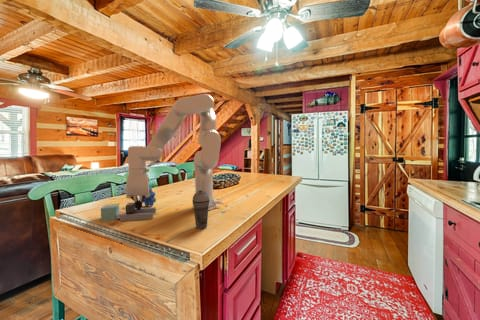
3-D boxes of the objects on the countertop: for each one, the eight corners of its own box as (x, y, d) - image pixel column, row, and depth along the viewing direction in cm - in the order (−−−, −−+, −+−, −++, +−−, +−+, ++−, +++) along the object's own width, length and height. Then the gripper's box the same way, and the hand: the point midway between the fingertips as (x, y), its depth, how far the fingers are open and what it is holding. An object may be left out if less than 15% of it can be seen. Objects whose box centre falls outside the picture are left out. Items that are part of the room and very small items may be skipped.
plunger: (135, 214, 113) (135, 202, 112) (133, 217, 108) (132, 205, 108) (119, 215, 111) (118, 203, 111) (115, 218, 106) (115, 206, 106)
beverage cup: (193, 224, 100) (192, 179, 98) (210, 223, 101) (209, 178, 99) (191, 230, 93) (190, 182, 91) (209, 230, 93) (209, 181, 92)
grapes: (133, 207, 127) (132, 186, 126) (142, 204, 134) (141, 183, 133) (150, 209, 123) (149, 187, 122) (158, 205, 130) (158, 185, 129)
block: (119, 216, 112) (118, 204, 111) (115, 220, 106) (114, 207, 106) (106, 217, 111) (105, 205, 110) (101, 221, 105) (100, 208, 104)
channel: (156, 212, 118) (155, 207, 117) (152, 218, 107) (152, 213, 107) (126, 214, 115) (126, 209, 114) (120, 221, 104) (120, 215, 104)
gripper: (155, 170, 114) (156, 206, 116) (122, 171, 111) (124, 208, 113) (152, 172, 107) (153, 210, 109) (118, 173, 104) (119, 212, 105)
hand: (138, 209), depth 111 cm, fingers closed
